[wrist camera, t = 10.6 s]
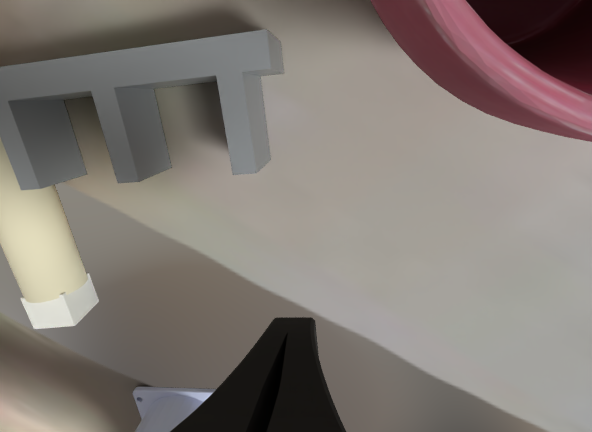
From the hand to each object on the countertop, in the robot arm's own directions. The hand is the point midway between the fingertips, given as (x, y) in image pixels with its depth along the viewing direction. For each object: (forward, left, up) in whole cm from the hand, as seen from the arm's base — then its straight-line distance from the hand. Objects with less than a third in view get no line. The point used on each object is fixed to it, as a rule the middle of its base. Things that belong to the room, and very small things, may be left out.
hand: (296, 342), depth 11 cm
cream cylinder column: (+2, +18, -10) cm, 21 cm away
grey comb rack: (+8, +12, -10) cm, 17 cm away
